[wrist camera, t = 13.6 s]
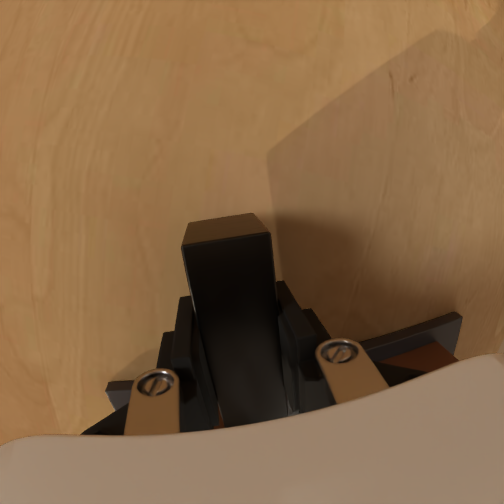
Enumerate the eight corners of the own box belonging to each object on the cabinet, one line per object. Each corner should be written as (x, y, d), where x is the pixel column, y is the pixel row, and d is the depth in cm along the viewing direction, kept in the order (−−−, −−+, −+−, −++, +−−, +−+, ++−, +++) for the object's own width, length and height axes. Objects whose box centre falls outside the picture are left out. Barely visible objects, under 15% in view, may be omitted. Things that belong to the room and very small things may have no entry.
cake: (107, 381, 14) (80, 469, 8) (455, 311, 16) (518, 358, 10) (183, 506, 18) (185, 563, 13) (411, 453, 20) (439, 497, 15)
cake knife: (187, 222, 11) (175, 259, 7) (253, 212, 11) (281, 242, 7) (250, 488, 16) (260, 539, 12) (285, 481, 17) (299, 532, 12)
